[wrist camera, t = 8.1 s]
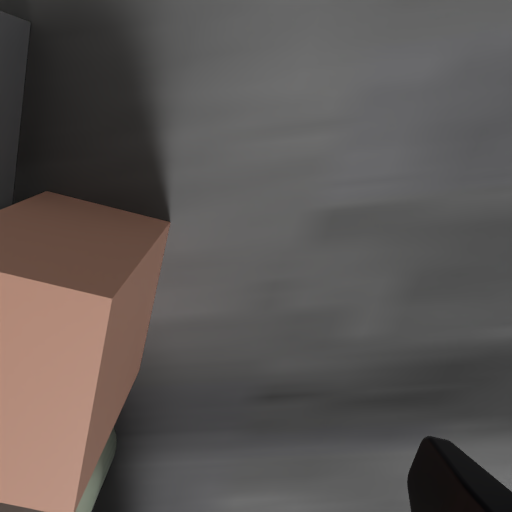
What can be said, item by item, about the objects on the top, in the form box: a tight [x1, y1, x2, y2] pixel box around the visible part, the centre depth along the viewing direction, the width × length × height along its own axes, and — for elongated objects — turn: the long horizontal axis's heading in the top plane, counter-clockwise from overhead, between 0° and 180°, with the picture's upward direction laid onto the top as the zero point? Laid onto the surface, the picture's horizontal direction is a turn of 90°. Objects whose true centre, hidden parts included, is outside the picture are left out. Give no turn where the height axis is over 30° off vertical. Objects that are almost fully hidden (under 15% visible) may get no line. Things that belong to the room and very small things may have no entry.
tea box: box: [0, 191, 170, 512], centre depth 16 cm, size 5×7×8 cm
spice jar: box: [0, 427, 117, 512], centre depth 20 cm, size 6×6×6 cm
